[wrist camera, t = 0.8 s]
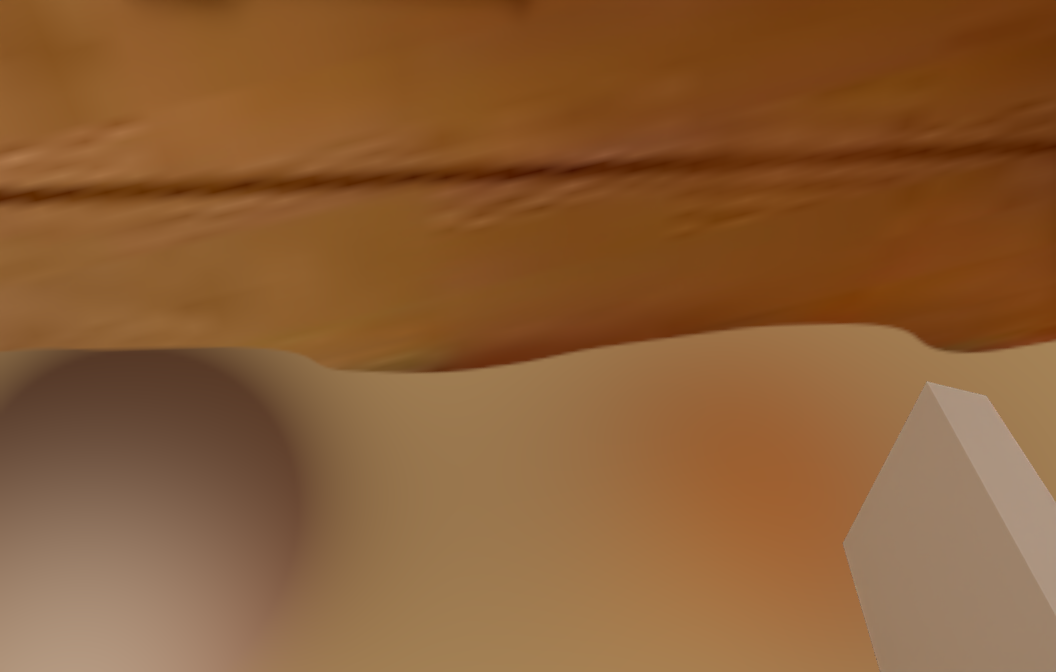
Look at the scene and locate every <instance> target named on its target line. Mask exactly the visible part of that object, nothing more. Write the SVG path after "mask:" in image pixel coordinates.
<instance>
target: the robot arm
mask: <svg viewBox="0 0 1056 672" xmlns="http://www.w3.org/2000/svg"><path fill="white" fill-rule="evenodd" d="M843 547H844V550H845V553H846V557H847V560H848V564H849V567H850V571H851V574H852V578H853V581H854V584H855V588H856V591H857V595H858V598H859V601H860V605H861V608H862V612H863V615H864V619H865V622H866V625H867V629H868V632H869V636H870V639H871V642H872V646H873V649H874V653H875V656H876V660H877V663H878V666H879V670H880V672H1056V502H1055V500H1054V499H1053V497H1052V496H1051V494H1050V493H1049V491H1048V490H1047V488H1046V487H1045V485H1044V483H1043V482H1042V480H1041V479H1040V477H1039V476H1038V474H1037V473H1036V471H1035V470H1034V468H1033V467H1032V465H1031V463H1030V462H1029V460H1028V459H1027V457H1026V456H1025V454H1024V453H1023V451H1022V450H1021V448H1020V447H1019V445H1018V444H1017V442H1016V440H1015V439H1014V437H1013V436H1012V434H1011V433H1010V431H1009V430H1008V428H1007V427H1006V425H1005V423H1004V422H1003V421H1002V419H1001V417H1000V416H999V414H998V413H997V411H996V410H995V408H994V406H993V405H992V403H991V402H990V400H989V399H988V397H987V396H985V395H981V394H977V393H973V392H968V391H964V390H960V389H956V388H952V387H948V386H944V385H940V384H935V383H931V382H926V384H925V386H924V387H923V390H922V391H921V393H920V395H919V397H918V399H917V401H916V403H915V405H914V407H913V409H912V411H911V413H910V415H909V416H908V418H907V420H906V422H905V424H904V426H903V428H902V430H901V432H900V434H899V436H898V438H897V440H896V442H895V444H894V445H893V447H892V449H891V451H890V453H889V455H888V457H887V459H886V461H885V463H884V465H883V467H882V469H881V471H880V472H879V475H878V476H877V478H876V480H875V482H874V484H873V486H872V488H871V490H870V492H869V494H868V496H867V497H866V499H865V502H864V503H863V505H862V507H861V509H860V511H859V513H858V515H857V517H856V519H855V521H854V523H853V525H852V526H851V528H850V530H849V532H848V534H847V536H846V538H845V540H844V542H843Z"/></svg>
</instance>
